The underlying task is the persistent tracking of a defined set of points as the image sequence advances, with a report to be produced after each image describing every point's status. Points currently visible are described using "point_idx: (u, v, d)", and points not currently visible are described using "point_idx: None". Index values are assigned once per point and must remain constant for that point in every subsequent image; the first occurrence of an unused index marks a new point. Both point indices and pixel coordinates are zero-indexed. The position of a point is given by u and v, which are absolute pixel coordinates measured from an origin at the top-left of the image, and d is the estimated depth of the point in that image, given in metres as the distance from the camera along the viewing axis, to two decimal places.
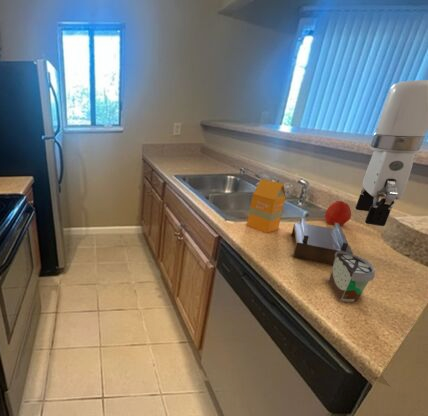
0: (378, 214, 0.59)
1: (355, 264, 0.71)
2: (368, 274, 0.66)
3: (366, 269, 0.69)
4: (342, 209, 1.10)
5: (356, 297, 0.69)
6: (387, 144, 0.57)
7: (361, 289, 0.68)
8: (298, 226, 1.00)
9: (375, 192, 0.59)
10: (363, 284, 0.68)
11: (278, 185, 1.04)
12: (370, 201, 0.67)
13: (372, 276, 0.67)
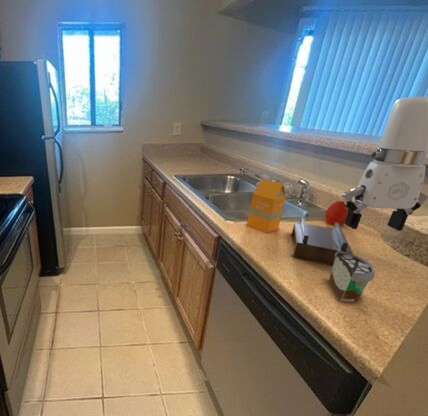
0: (349, 215, 0.66)
1: (355, 264, 0.71)
2: (368, 274, 0.66)
3: (366, 269, 0.69)
4: (342, 209, 1.10)
5: (356, 297, 0.69)
6: None
7: (361, 289, 0.68)
8: (298, 226, 1.00)
9: None
10: (363, 284, 0.68)
11: (278, 185, 1.04)
12: (398, 219, 0.64)
13: (372, 276, 0.67)
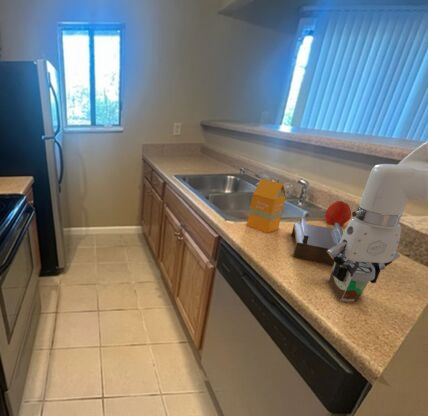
0: (336, 268, 0.71)
1: (355, 264, 0.71)
2: (368, 274, 0.66)
3: (366, 269, 0.69)
4: (342, 209, 1.10)
5: (356, 297, 0.69)
6: None
7: (361, 289, 0.68)
8: (298, 226, 1.00)
9: None
10: (363, 284, 0.68)
11: (278, 185, 1.04)
12: None
13: (372, 276, 0.67)
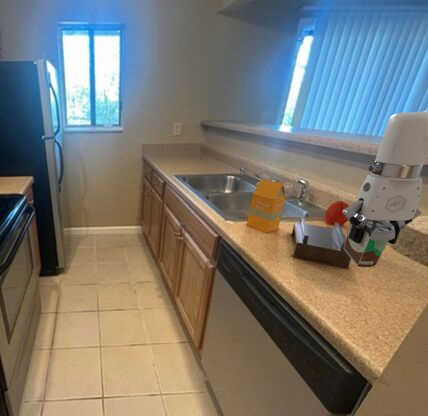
0: (352, 230, 0.67)
1: (372, 225, 0.67)
2: (388, 232, 0.62)
3: (385, 229, 0.65)
4: (342, 209, 1.10)
5: (375, 259, 0.65)
6: None
7: (380, 250, 0.64)
8: (298, 226, 1.00)
9: None
10: (382, 244, 0.63)
11: (278, 185, 1.04)
12: None
13: (392, 235, 0.62)
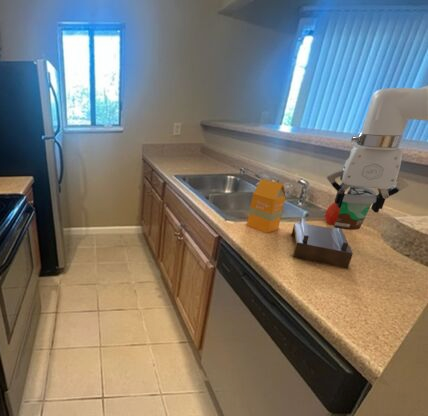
0: (336, 196, 0.76)
1: (359, 193, 0.74)
2: (361, 197, 0.70)
3: None
4: None
5: (351, 222, 0.73)
6: None
7: (356, 214, 0.72)
8: (298, 226, 1.00)
9: None
10: (357, 208, 0.71)
11: (278, 185, 1.04)
12: (376, 201, 0.72)
13: (367, 200, 0.70)
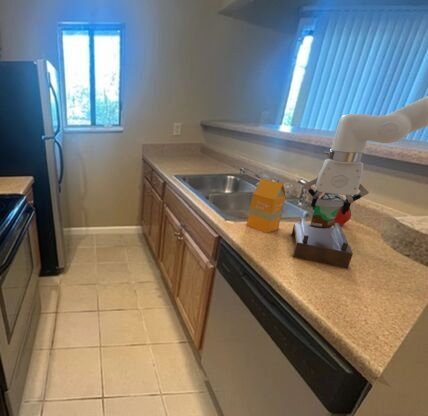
0: (312, 200, 0.91)
1: (330, 198, 0.89)
2: (330, 201, 0.85)
3: None
4: None
5: (323, 222, 0.88)
6: None
7: (327, 215, 0.87)
8: (298, 226, 1.00)
9: None
10: (327, 211, 0.86)
11: (278, 185, 1.04)
12: None
13: (335, 204, 0.85)
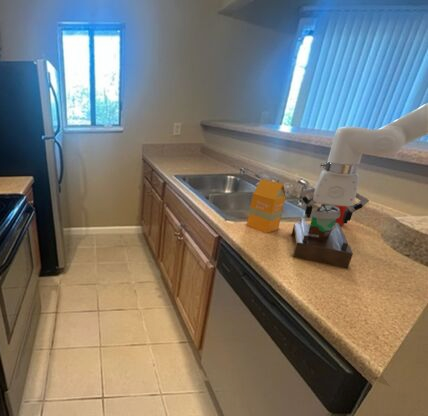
0: (306, 208, 0.93)
1: (327, 210, 0.90)
2: (327, 213, 0.86)
3: None
4: (342, 209, 1.10)
5: (320, 233, 0.90)
6: None
7: (323, 227, 0.88)
8: (298, 226, 1.00)
9: None
10: (324, 222, 0.88)
11: (278, 185, 1.04)
12: (345, 214, 0.87)
13: (331, 216, 0.86)
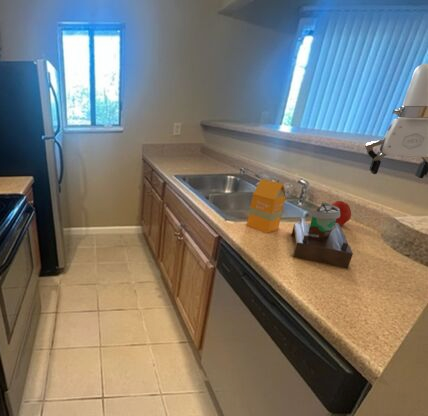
0: (372, 163, 0.82)
1: (327, 209, 0.90)
2: (327, 213, 0.86)
3: None
4: (342, 209, 1.10)
5: (320, 233, 0.90)
6: None
7: (323, 227, 0.88)
8: (298, 226, 1.00)
9: None
10: (324, 222, 0.88)
11: (278, 185, 1.04)
12: (421, 168, 0.77)
13: (331, 216, 0.86)
